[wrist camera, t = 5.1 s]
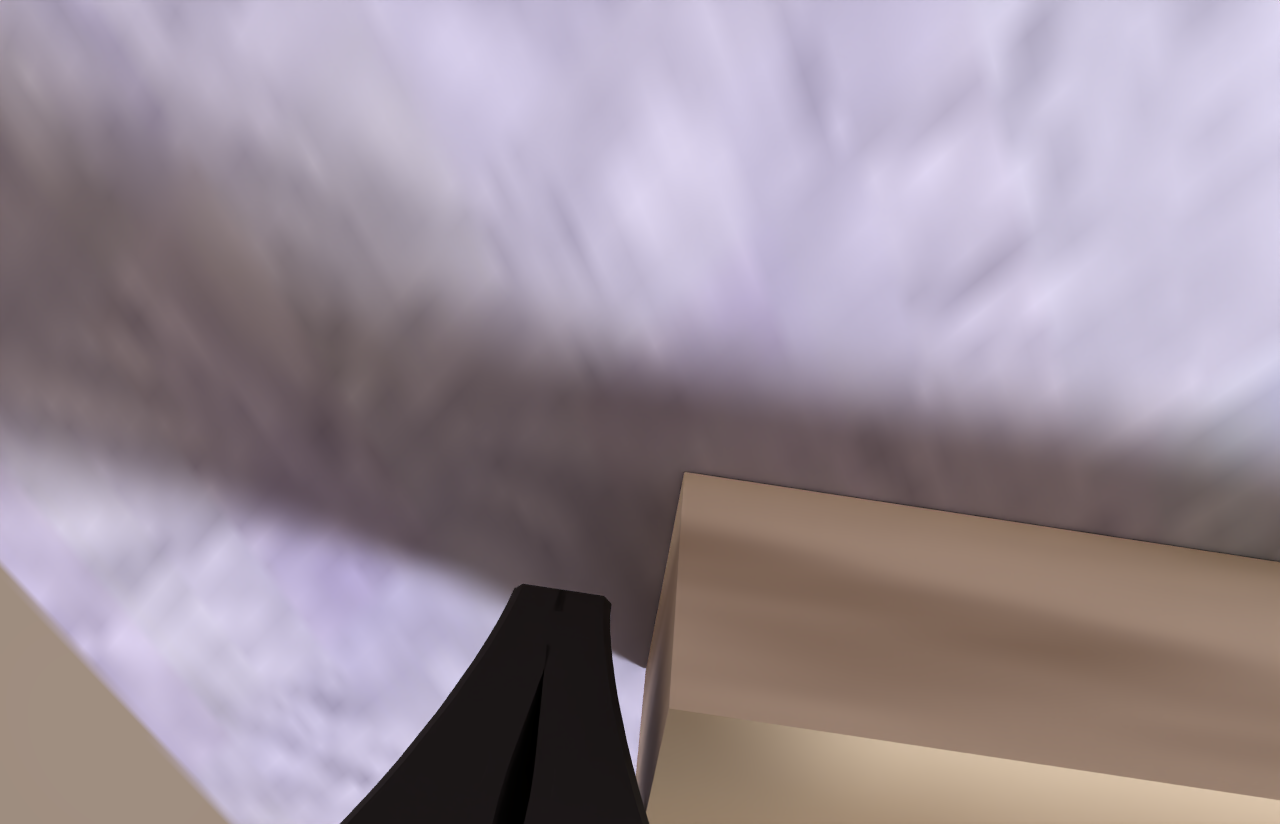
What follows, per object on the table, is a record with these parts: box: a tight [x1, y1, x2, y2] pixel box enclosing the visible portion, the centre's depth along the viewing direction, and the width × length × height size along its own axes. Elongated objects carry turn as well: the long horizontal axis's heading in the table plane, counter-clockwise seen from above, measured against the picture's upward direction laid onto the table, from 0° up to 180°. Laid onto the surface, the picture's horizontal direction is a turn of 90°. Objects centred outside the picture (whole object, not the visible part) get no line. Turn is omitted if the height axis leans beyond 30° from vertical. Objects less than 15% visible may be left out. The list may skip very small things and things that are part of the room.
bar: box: [636, 472, 1280, 824], centre depth 12 cm, size 4×12×4 cm, turn 83°
